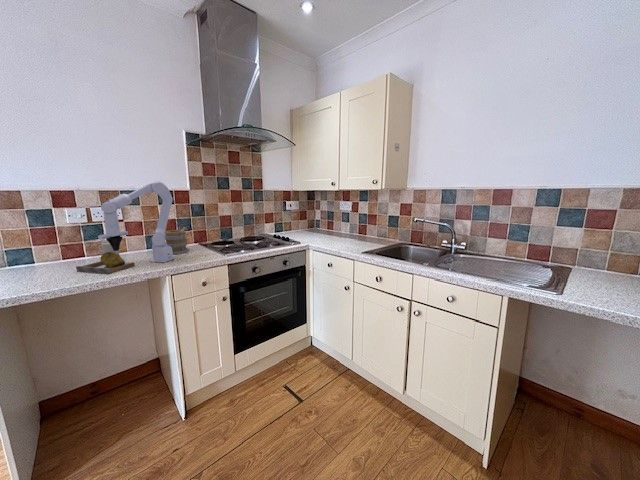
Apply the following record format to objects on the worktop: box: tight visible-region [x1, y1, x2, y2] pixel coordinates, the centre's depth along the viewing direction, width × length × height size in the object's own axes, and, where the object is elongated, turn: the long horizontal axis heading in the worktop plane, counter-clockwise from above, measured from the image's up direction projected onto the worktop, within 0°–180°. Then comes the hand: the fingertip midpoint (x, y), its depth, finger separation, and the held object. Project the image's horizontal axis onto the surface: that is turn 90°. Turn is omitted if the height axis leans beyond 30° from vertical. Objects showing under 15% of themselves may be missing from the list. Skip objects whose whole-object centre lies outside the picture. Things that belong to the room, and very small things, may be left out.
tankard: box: [165, 226, 189, 256], centre depth 172 cm, size 20×13×15 cm, turn 173°
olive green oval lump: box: [100, 252, 126, 269], centre depth 137 cm, size 8×13×8 cm, turn 50°
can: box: [100, 239, 121, 257], centre depth 150 cm, size 8×8×12 cm
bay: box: [75, 260, 136, 275], centre depth 136 cm, size 20×14×2 cm, turn 77°
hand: (116, 250), depth 140 cm, fingers closed
